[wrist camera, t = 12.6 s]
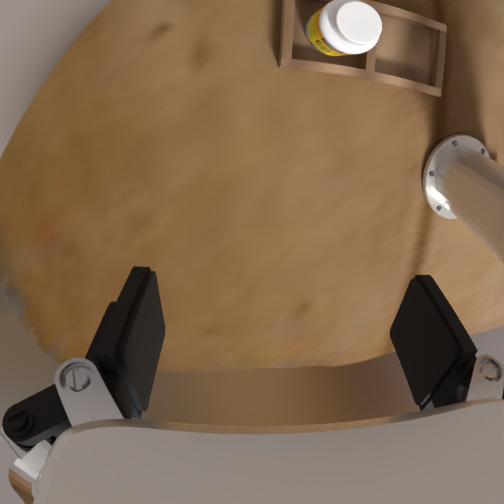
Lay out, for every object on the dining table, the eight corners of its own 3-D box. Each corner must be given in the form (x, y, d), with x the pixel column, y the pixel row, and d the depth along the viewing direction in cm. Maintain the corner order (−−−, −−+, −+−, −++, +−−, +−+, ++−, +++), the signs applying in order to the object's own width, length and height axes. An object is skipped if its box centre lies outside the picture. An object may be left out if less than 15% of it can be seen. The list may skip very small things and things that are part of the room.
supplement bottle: (299, 48, 28) (318, 39, 20) (311, 5, 26) (334, -18, 17) (347, 63, 29) (382, 63, 21) (359, 21, 26) (397, 8, 18)
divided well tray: (434, 26, 26) (446, 25, 24) (428, 94, 31) (440, 97, 29) (282, -8, 26) (285, -15, 23) (278, 67, 31) (281, 67, 28)
